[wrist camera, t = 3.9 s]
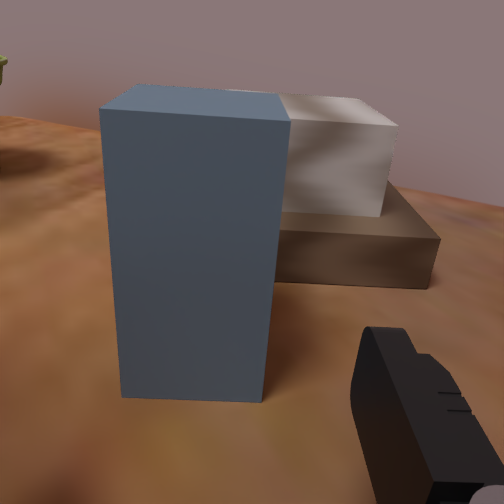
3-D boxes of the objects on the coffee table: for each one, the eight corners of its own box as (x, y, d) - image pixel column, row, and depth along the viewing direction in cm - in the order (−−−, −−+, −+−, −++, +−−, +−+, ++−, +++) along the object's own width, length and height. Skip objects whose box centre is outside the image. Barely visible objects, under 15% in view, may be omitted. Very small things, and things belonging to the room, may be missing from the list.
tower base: (165, 275, 24) (163, 120, 20) (191, 188, 37) (192, 82, 33) (426, 289, 25) (468, 140, 21) (364, 198, 37) (384, 95, 34)
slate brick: (121, 397, 16) (98, 108, 12) (147, 316, 21) (138, 83, 16) (261, 402, 17) (291, 121, 12) (257, 321, 21) (277, 93, 17)
